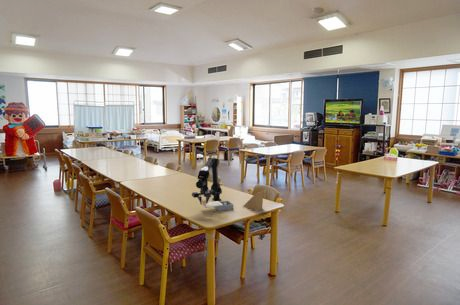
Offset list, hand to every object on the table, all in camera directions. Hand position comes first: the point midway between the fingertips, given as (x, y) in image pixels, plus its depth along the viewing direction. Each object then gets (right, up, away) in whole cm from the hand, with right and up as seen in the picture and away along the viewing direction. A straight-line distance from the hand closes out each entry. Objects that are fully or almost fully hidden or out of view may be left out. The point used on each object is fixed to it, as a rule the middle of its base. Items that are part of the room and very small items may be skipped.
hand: (203, 204), depth 244 cm
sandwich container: (+40, -5, +12) cm, 42 cm away
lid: (+6, -1, +3) cm, 7 cm away
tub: (+16, -5, +8) cm, 18 cm away
